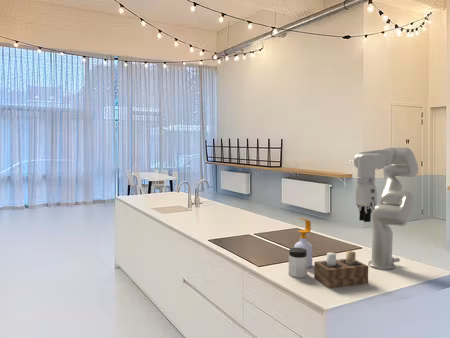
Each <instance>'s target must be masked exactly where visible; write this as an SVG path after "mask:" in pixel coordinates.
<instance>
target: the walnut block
mask: <svg viewBox="0 0 450 338" xmlns="http://www.w3.org/2000/svg"><path fill="white" fill-rule="evenodd" d="M313 276H314V280H316V281H317V282H319V283H320V284H321V285H322V286H324V287H326V288H327V289H332V288H334V289H335V288H341V287H350V286H359V285H367V284H369V265H367V264H365V263H363V262H361V261H359V260H357V259H355V264H348V263H346V258H340V259H336V265H335V266H329V265H327V260H321V261H320V260H319V261H314V274H313Z"/></svg>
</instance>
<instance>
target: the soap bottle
mask: <svg viewBox="0 0 450 338" xmlns="http://www.w3.org/2000/svg"><path fill="white" fill-rule="evenodd" d="M299 219H300V220H303V221H304V222H305V229H303V230H302V229H301V230H298V231H297V232H299V233H300V234H301V236H300V237H299V238H300V239H299V241H297V242H296V243H295V244H294V247H293V248H303V249H306V250H307V269H308V268H311V267H312V266H313V245H312V244H311V243H310V242H309V241H307V240H308V237H307V236H306V235H307V233H310V232H311V227H312V226H311V221H310V220H309V219H306V218H302V217H299Z"/></svg>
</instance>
